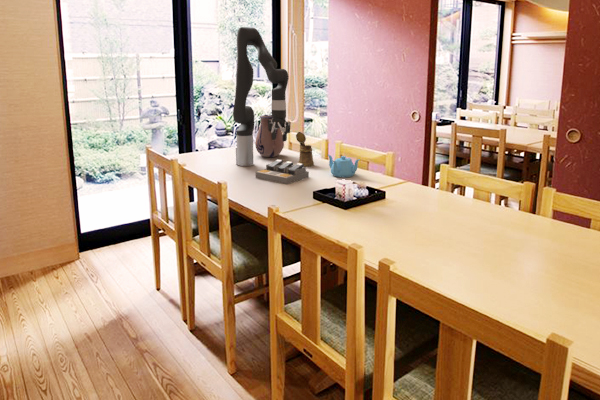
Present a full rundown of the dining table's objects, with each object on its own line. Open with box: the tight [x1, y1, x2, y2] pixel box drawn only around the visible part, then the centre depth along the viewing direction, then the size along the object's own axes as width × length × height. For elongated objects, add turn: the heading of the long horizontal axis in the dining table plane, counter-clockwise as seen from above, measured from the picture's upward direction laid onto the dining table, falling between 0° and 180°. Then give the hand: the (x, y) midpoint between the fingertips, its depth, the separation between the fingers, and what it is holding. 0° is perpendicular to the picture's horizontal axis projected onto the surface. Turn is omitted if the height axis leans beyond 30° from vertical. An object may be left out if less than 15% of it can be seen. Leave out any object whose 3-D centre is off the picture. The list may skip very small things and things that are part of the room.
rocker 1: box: [268, 159, 284, 169], centre depth 273 cm, size 4×8×2 cm, turn 142°
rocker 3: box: [289, 162, 305, 173], centre depth 265 cm, size 4×8×2 cm, turn 142°
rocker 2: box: [278, 160, 294, 171], centre depth 269 cm, size 4×8×2 cm, turn 142°
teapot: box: [327, 154, 361, 178], centre depth 271 cm, size 15×15×10 cm
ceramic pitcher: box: [255, 114, 285, 158], centre depth 314 cm, size 18×21×25 cm
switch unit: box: [255, 163, 310, 185], centre depth 267 cm, size 21×18×6 cm
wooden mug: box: [295, 131, 315, 168], centre depth 295 cm, size 9×14×18 cm, turn 27°
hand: (279, 140), depth 271 cm, fingers open, 6 cm apart
